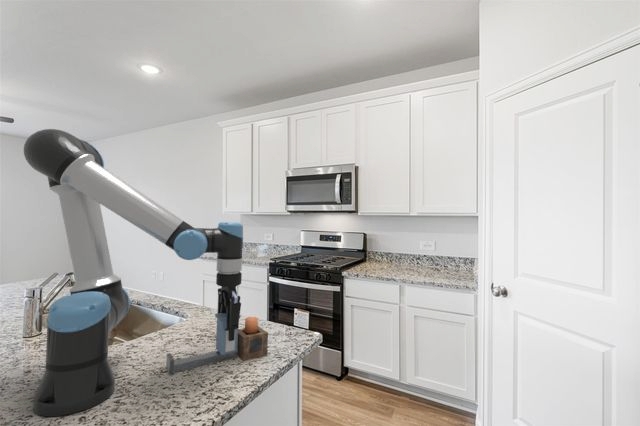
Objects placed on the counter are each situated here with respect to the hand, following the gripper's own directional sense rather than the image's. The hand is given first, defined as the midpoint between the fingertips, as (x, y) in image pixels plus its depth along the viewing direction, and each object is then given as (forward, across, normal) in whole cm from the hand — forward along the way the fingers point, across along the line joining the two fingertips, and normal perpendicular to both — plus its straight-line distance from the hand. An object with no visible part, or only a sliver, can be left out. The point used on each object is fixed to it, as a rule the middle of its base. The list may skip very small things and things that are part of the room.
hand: (226, 347), depth 97 cm
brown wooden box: (+3, -1, -8) cm, 8 cm away
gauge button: (-4, -1, -8) cm, 8 cm away
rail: (+3, 0, +6) cm, 6 cm away
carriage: (+1, 0, 0) cm, 1 cm away
